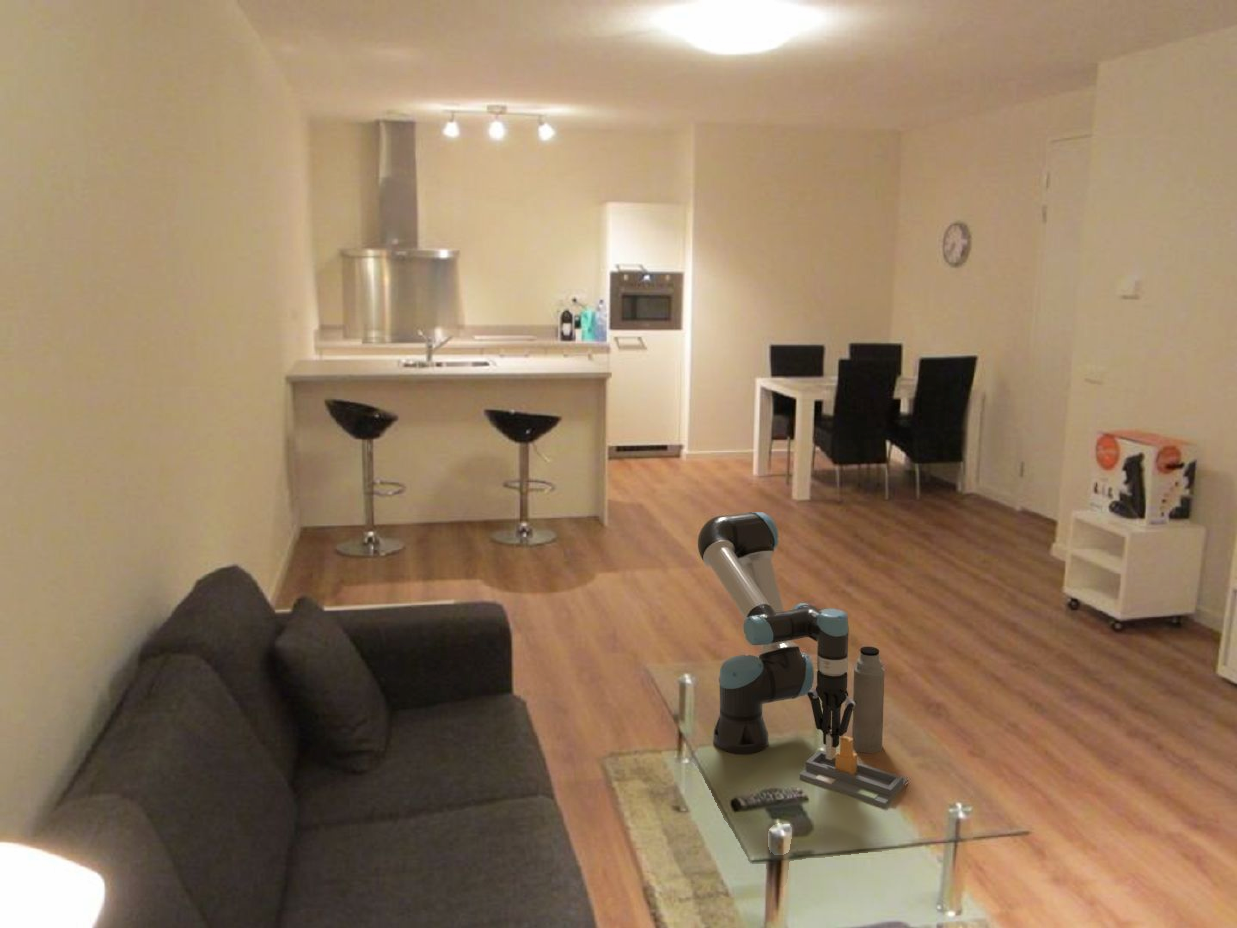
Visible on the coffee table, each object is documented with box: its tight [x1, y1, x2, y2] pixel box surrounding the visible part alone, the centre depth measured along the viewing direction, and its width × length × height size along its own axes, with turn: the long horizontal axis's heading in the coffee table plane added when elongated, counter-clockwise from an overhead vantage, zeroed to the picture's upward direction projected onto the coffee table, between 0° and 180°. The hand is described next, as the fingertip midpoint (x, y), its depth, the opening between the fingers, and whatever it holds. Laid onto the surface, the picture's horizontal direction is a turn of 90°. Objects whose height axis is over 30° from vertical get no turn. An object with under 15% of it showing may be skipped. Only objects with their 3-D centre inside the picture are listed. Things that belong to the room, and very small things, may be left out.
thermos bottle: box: [851, 646, 886, 754], centre depth 256 cm, size 8×8×28 cm
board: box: [799, 749, 909, 808], centre depth 241 cm, size 23×14×3 cm, turn 51°
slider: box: [835, 735, 858, 775], centre depth 241 cm, size 4×4×9 cm
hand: (830, 756), depth 244 cm, fingers closed
